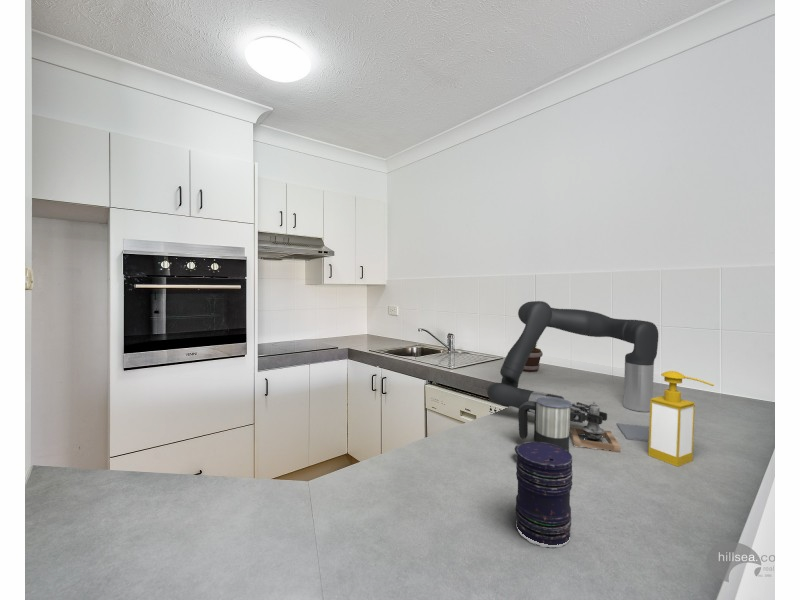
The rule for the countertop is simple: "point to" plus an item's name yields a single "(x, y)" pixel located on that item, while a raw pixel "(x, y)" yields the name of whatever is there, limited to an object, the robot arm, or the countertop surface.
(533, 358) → the flowerpot
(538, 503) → the navy blue cylinder
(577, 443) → the holder frame
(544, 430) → the milk frother
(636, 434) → the slate mat
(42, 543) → the countertop surface
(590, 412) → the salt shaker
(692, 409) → the soap bottle
